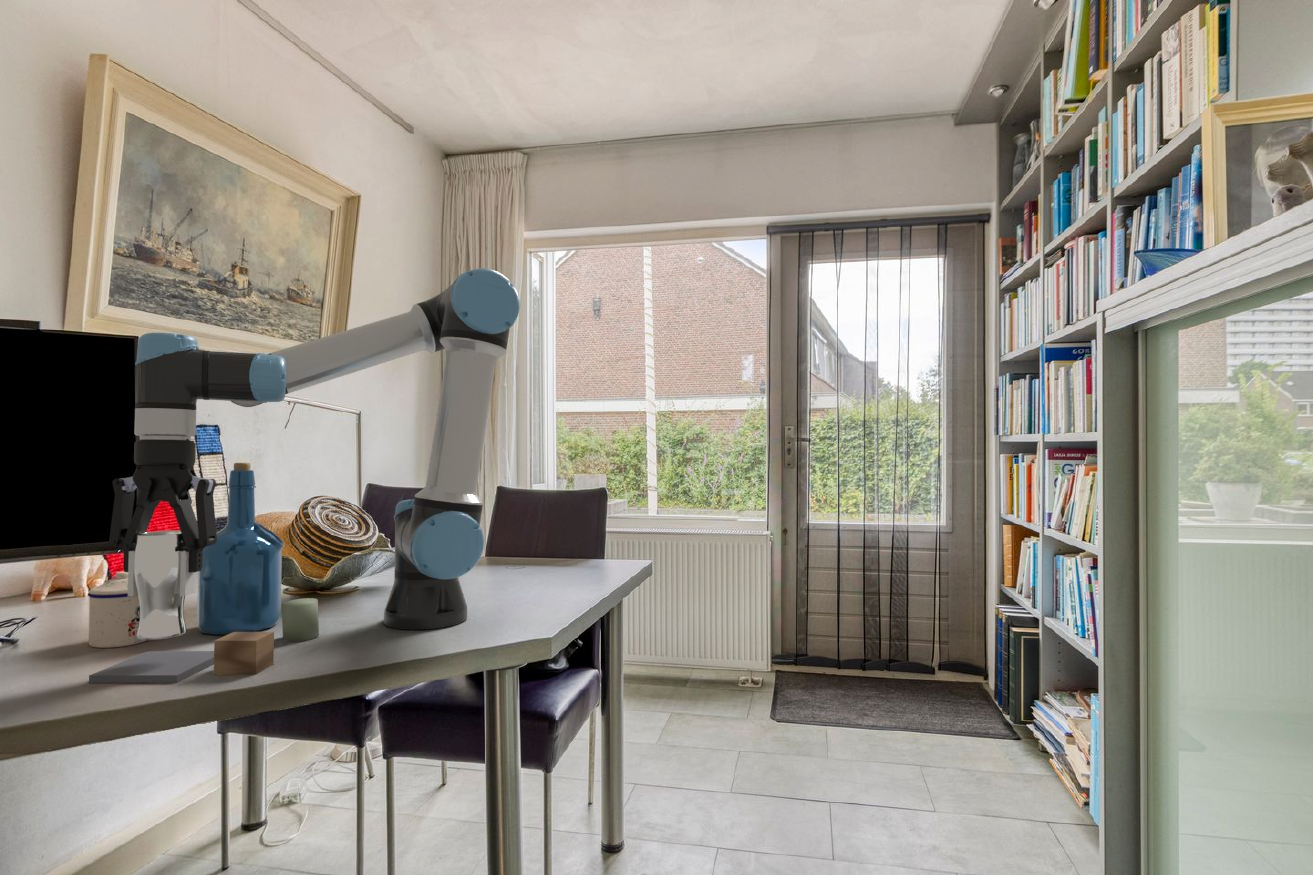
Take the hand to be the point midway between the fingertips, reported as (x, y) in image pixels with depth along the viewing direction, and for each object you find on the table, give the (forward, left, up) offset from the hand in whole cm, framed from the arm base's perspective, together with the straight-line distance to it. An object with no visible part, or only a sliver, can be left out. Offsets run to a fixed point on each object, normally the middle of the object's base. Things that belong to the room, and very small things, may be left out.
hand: (162, 594), depth 106 cm
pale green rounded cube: (-12, -18, -11) cm, 24 cm away
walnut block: (-12, 0, -11) cm, 16 cm away
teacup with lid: (+17, -17, -11) cm, 27 cm away
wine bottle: (+2, -25, -11) cm, 27 cm away
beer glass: (0, 0, -6) cm, 6 cm away
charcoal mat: (0, 0, -11) cm, 11 cm away
